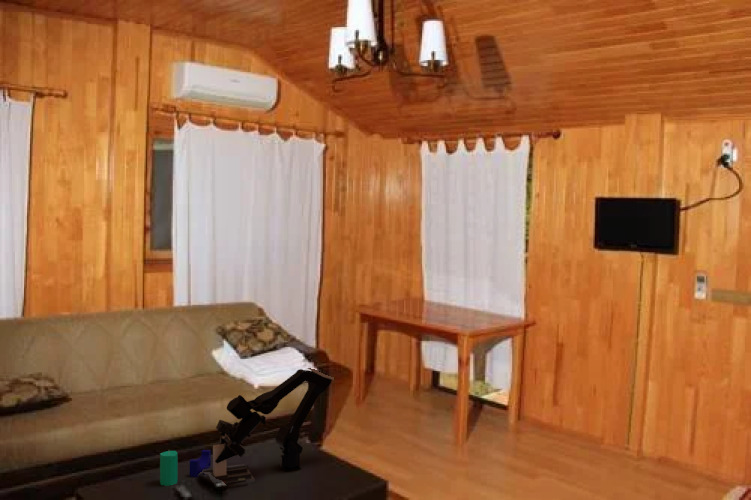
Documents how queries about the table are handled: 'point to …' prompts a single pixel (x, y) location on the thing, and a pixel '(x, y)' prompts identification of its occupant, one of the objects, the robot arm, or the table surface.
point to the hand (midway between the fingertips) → (214, 460)
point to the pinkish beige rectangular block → (220, 467)
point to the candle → (168, 468)
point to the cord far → (228, 468)
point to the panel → (237, 476)
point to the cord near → (238, 484)
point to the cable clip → (200, 463)
